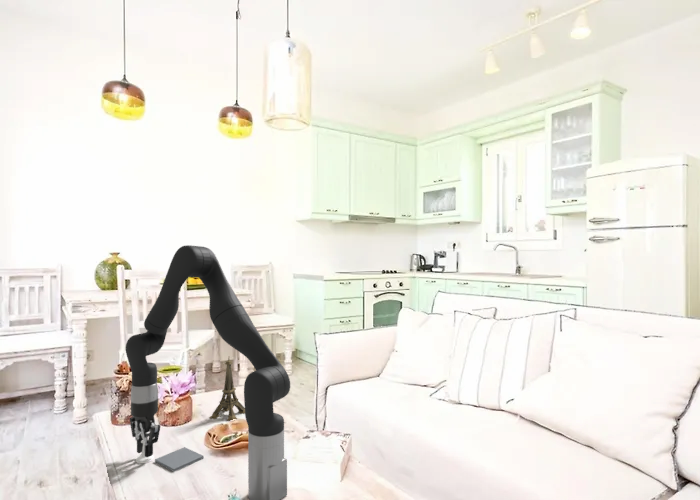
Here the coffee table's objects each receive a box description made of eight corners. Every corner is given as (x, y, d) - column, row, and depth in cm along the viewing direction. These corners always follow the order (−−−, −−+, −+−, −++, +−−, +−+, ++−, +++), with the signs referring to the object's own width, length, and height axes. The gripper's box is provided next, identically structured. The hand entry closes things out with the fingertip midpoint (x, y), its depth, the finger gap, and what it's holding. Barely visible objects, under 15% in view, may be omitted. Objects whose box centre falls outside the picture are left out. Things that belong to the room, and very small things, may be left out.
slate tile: (203, 458, 135) (203, 455, 135) (173, 471, 127) (173, 469, 127) (184, 449, 141) (184, 447, 141) (155, 461, 132) (155, 459, 132)
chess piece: (146, 464, 131) (146, 430, 131) (132, 462, 132) (132, 429, 132) (157, 456, 136) (156, 424, 136) (143, 455, 137) (142, 423, 137)
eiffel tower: (233, 421, 164) (233, 354, 163) (209, 418, 167) (208, 352, 167) (248, 411, 174) (248, 348, 173) (225, 408, 177) (225, 346, 177)
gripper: (169, 399, 133) (169, 455, 133) (144, 390, 141) (144, 443, 141) (145, 406, 127) (145, 465, 127) (120, 396, 135) (120, 452, 135)
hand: (144, 453), depth 134 cm, fingers open, 4 cm apart
